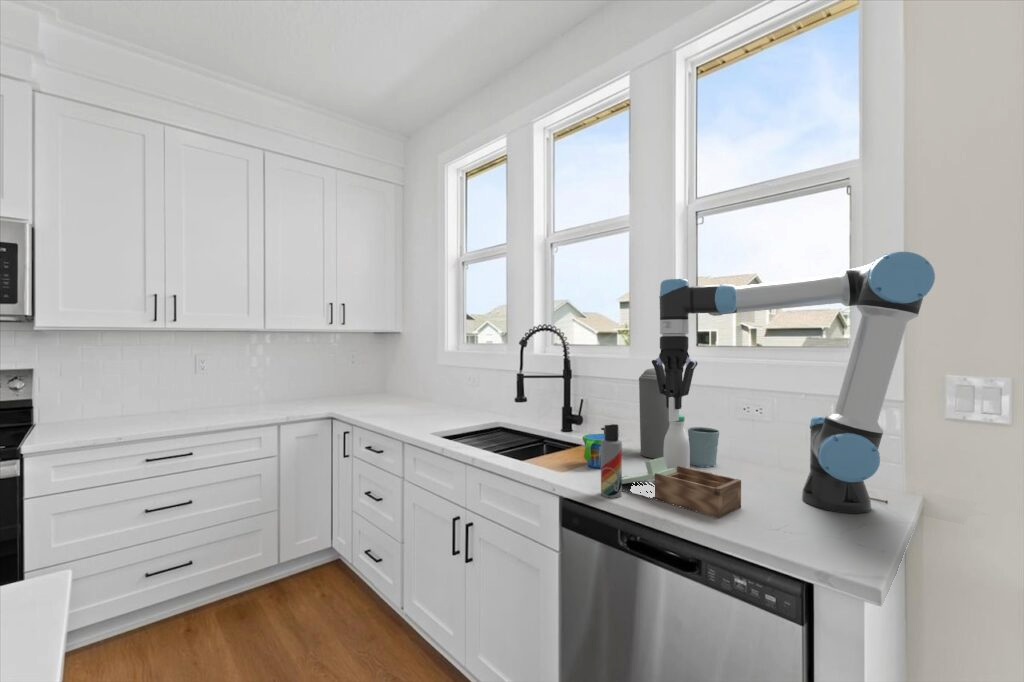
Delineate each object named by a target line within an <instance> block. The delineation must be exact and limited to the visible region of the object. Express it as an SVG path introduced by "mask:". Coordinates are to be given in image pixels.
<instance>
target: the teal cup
mask: <svg viewBox="0 0 1024 682" xmlns="http://www.w3.org/2000/svg"><path fill="white" fill-rule="evenodd" d="M687 433H688V434H687V436H688V439H689V446H690V463H691V464H690V465H692V464H693V465H692V466H694V465H697V466H696V467H699V466H714V465H715V466H716V465H717V454H718V446H719V437H720V430H718V429H715V428H711V427H702V426H699V427H698V426H693V427H688V428H687ZM715 466H714V467H715Z"/></svg>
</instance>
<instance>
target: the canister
mask: <svg viewBox="0 0 1024 682" xmlns="http://www.w3.org/2000/svg"><path fill="white" fill-rule="evenodd" d="M664 373H665V371H664ZM638 390H639V391H638V394H639V396H638V397H639V430H640V431H639V434H640V435H639V436H640V438H639V439H640V441H639V442H640V455H641V456H642V457H645V458H649V459H653V460H654V459H657V458H661V457H663V455H664V439H665V436H666V433H667V431H668V429H669V425H670V422H669V408H667V407H666V396H665V395H664V394H661V393H660V391H659V386H658V381H657V376H656V372H655V368H647V369H646V370H644V371H643V373H641V375H640V376H639V377H638Z"/></svg>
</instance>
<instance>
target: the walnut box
mask: <svg viewBox="0 0 1024 682" xmlns="http://www.w3.org/2000/svg"><path fill="white" fill-rule="evenodd" d="M654 483H655V497H654V500H655V499H657V500H656V501H658V500H660V501H659V502H662V501H664V502H663V503H665V502H667V503H666V504H668V503H670V504H669V505H672V504H674V505H673V506H675V505H677V506H676V507H678V506H681V507H680V508H682V507H684V508H683V509H685V508H687V509H686V510H688V509H690V510H689V511H692V510H693V511H692V512H695V511H697V512H696V513H699V512H700V513H699V514H702V513H703V514H702V515H705V514H707V515H706V516H709V515H710V516H709V517H712V516H714V517H713V518H715V517H717V518H716V519H720V518H723V517H724V516H726V515H728V514H731V513H732V512H734V511H736V510H738V509H740V508H742V479H738V478H733V477H729V476H725V475H719V474H717V473H716V474H715V473H712V472H707V471H702V470H699V469H694V468H691V467H690V468H686V467H681V466H677V472H675V473H672V474H669V475H662V474H658V473H655V479H654Z"/></svg>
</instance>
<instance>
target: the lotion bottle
mask: <svg viewBox="0 0 1024 682" xmlns="http://www.w3.org/2000/svg"><path fill="white" fill-rule="evenodd" d="M603 432H604V433H603V434H604V439H605V440H602V441H601V468H600V494H601V496H603V497H605V498H608V497H610V498H609V499H616V498H615V497H617V498H620V497H622V477H623V473H622V471H623V469H622V468H623V467H622V466H623V464H622V463H623V460H622V459H623V457H622V455H623V453H622V452H623V448H622V447H623V444H622V443H623V442H622V441H621V440H619V424H618V423H617V424H615V423H611V424H605V425H604V431H603Z"/></svg>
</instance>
